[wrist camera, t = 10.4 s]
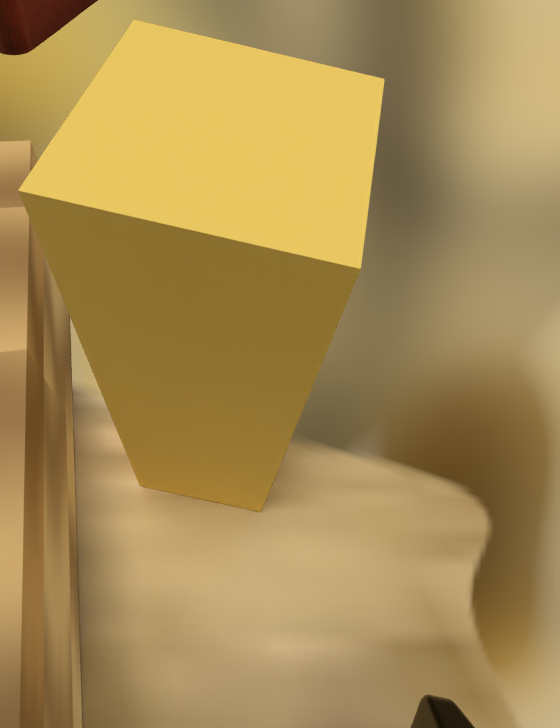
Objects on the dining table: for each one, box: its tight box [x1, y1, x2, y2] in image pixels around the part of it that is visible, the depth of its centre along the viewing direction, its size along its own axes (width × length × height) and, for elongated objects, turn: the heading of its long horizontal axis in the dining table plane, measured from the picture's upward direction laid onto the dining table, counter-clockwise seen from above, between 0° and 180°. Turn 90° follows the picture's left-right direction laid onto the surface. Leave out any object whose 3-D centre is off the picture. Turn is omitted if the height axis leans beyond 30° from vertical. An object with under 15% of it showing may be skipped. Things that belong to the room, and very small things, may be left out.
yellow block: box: [18, 20, 384, 512], centre depth 12 cm, size 4×4×12 cm
